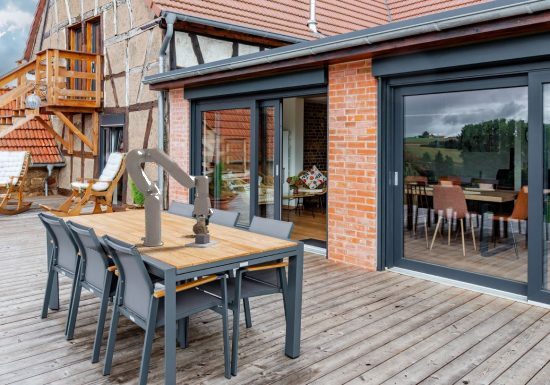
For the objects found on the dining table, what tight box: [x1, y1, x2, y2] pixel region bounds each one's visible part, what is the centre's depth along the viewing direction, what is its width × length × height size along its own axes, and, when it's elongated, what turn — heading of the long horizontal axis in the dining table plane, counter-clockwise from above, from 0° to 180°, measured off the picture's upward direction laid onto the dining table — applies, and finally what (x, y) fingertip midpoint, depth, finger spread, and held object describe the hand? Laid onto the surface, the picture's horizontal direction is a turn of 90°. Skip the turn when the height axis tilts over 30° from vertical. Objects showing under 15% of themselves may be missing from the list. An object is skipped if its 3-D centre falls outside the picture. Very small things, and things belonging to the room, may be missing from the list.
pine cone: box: [191, 222, 210, 235], centre depth 326 cm, size 22×10×10 cm, turn 37°
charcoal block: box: [194, 233, 211, 244], centre depth 300 cm, size 6×6×5 cm
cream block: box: [196, 216, 209, 227], centre depth 299 cm, size 5×5×5 cm
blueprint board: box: [184, 239, 220, 249], centre depth 300 cm, size 14×18×1 cm
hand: (202, 224), depth 299 cm, fingers closed on cream block, 5 cm apart
